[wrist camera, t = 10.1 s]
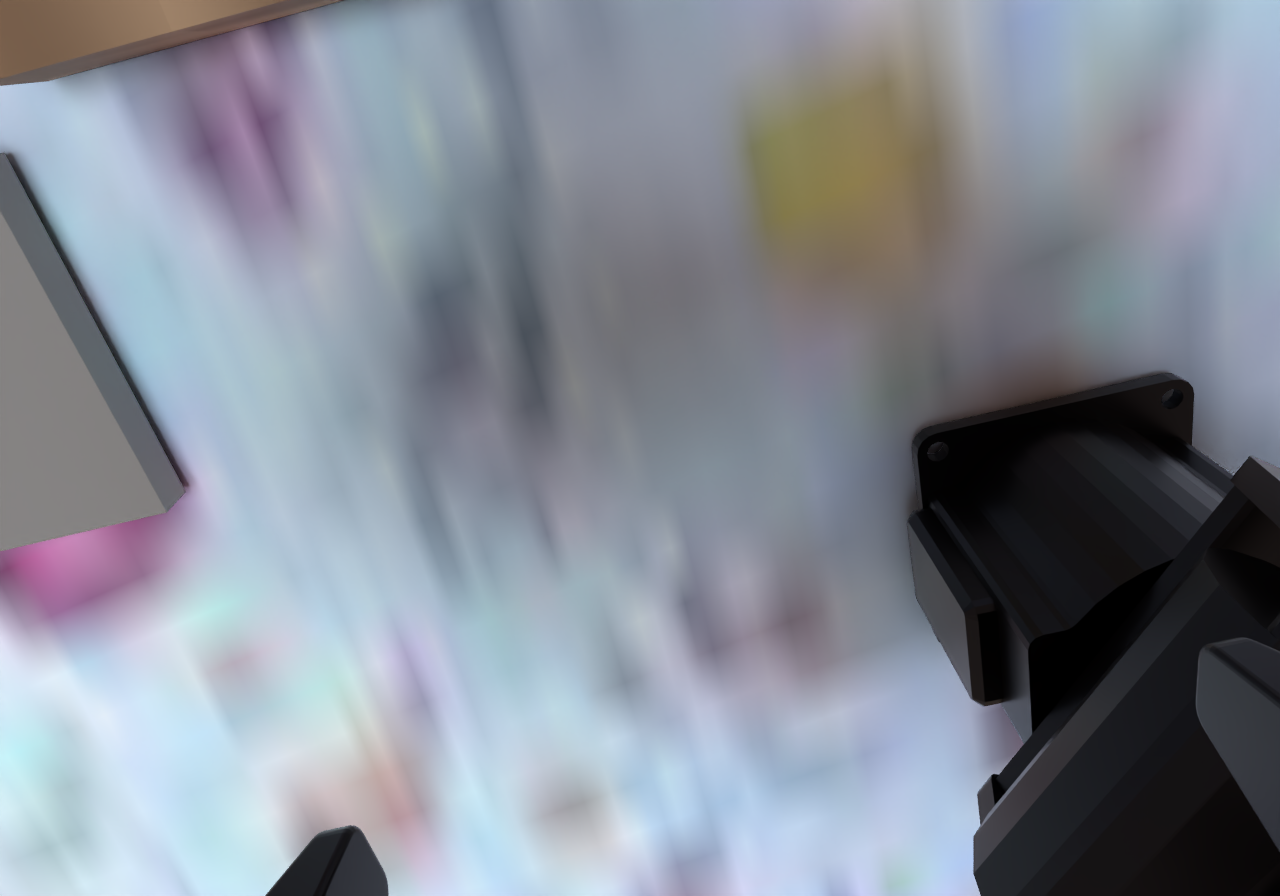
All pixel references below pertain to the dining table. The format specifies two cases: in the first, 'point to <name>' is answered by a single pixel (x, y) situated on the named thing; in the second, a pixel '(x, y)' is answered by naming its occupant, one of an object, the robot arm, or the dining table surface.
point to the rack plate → (116, 30)
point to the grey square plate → (63, 400)
